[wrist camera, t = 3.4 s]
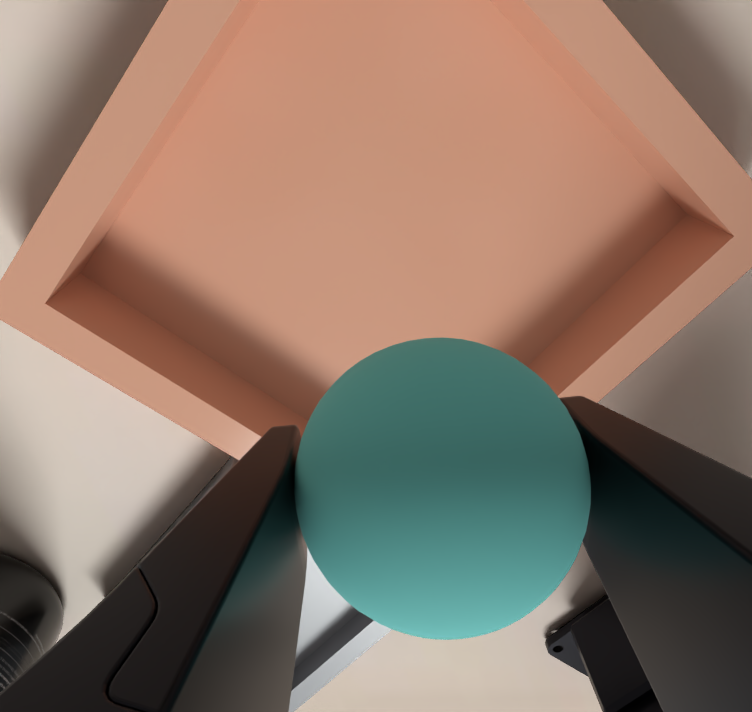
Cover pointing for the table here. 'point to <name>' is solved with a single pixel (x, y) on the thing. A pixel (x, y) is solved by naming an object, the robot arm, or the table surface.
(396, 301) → the dish
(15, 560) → the supplement bottle
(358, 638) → the tray
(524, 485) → the ball
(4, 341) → the table surface
